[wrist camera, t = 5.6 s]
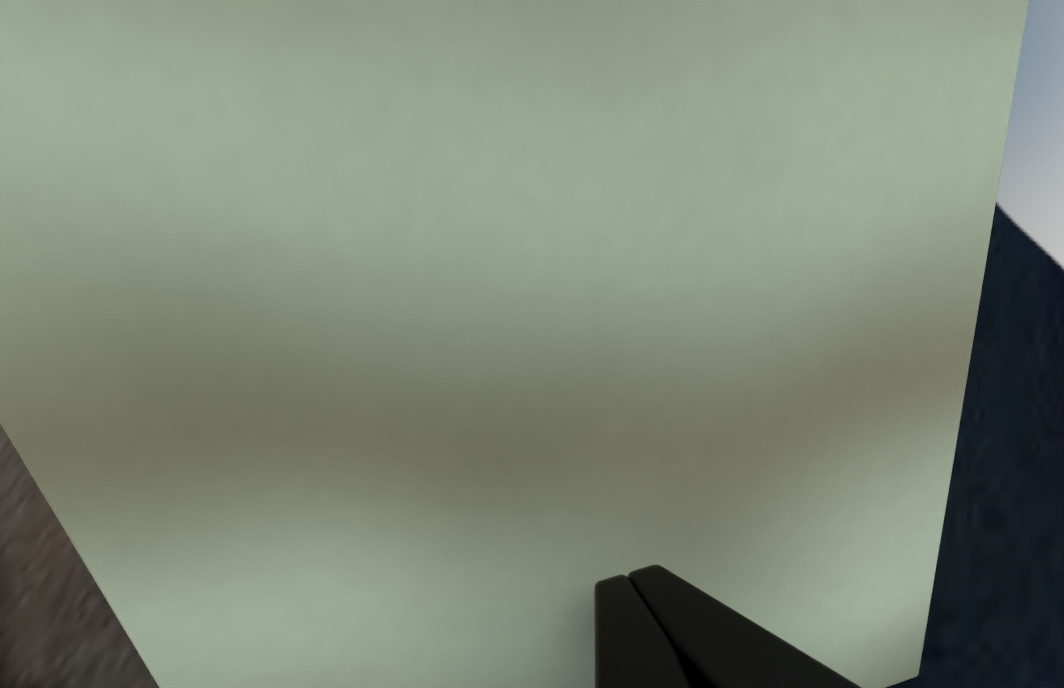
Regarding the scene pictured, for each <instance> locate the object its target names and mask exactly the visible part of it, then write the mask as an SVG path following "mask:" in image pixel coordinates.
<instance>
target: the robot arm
mask: <svg viewBox="0 0 1064 688" xmlns="http://www.w3.org/2000/svg"><path fill="white" fill-rule="evenodd" d="M594 627H595V688H862V687H860V686H859V685H857V684H855V683H854V682H852V681H850V680H849V679H847V678H845V677H844V676H842V675H840V674H839V673H837V672H835V671H834V670H832V669H831V668H829V667H827V666H826V665H824V664H822V663H821V662H819V661H817V660H816V659H814V658H812V657H811V656H809V655H807V654H806V653H804V652H803V651H801V650H799V649H798V648H796V647H794V646H793V645H791V644H789V643H788V642H786V641H784V640H783V639H781V638H779V637H778V636H776V635H774V634H773V633H771V632H770V631H768V630H766V629H765V628H763V627H761V626H760V625H758V624H756V623H755V622H753V621H751V620H750V619H748V618H746V617H745V616H743V615H741V614H740V613H738V612H737V611H735V610H733V609H732V608H730V607H728V606H727V605H725V604H723V603H722V602H720V601H718V600H717V599H715V598H713V597H712V596H710V595H709V594H707V593H705V592H704V591H702V590H700V589H699V588H697V587H695V586H694V585H692V584H690V583H689V582H687V581H685V580H684V579H682V578H680V577H679V576H677V575H676V574H674V573H672V572H671V571H669V570H667V569H666V568H664V567H662V566H660V565H650V566H647V567H644V568H640V569H637V570H634V571H631V572H630V573H629V574H628V575H627V576H625V575H622V574H621V575H617V576H614V577H610V578H607V579H604V580H600V581H598V582H597V583H596V584H595V588H594Z"/></svg>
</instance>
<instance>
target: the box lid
mask: <svg viewBox="0 0 1064 688" xmlns="http://www.w3.org/2000/svg"><path fill="white" fill-rule="evenodd" d="M1028 2H1029V0H0V424H1V426H2V427H3V429H4V431H5V432H6V434H7V436H8V437H9V439H10V440H11V442H12V444H13V445H14V447H15V449H16V450H17V452H18V454H19V455H20V457H21V459H22V460H23V462H24V464H25V465H26V467H27V469H28V470H29V472H30V474H31V475H32V477H33V479H34V480H35V482H36V484H37V485H38V487H39V489H40V490H41V492H42V494H43V495H44V497H45V499H46V500H47V502H48V504H49V505H50V507H51V509H52V510H53V512H54V514H55V515H56V517H57V518H58V520H59V522H60V523H61V525H62V527H63V528H64V530H65V532H66V533H67V535H68V537H69V538H70V540H71V542H72V543H73V545H74V547H75V548H76V550H77V552H78V553H79V555H80V557H81V558H82V560H83V562H84V563H85V565H86V567H87V568H88V570H89V572H90V573H91V575H92V577H93V578H94V580H95V582H96V583H97V585H98V587H99V588H100V590H101V592H102V593H103V595H104V597H105V598H106V600H107V601H108V603H109V605H110V606H111V608H112V610H113V611H114V613H115V615H116V616H117V618H118V620H119V621H120V623H121V625H122V626H123V628H124V630H125V631H126V633H127V635H128V636H129V638H130V640H131V641H132V643H133V645H134V646H135V648H136V650H137V651H138V653H139V655H140V656H141V658H142V660H143V661H144V663H145V665H146V666H147V668H148V670H149V671H150V673H151V675H152V676H153V678H154V680H155V681H156V683H157V684H158V686H159V688H595V627H594V588H595V584H596V583H597V582H598V581H600V580H604V579H607V578H610V577H614V576H617V575H621V574H622V575H625V576H627V575H628V574H629V573H630V572H631V571H634V570H637V569H640V568H644V567H647V566H650V565H660V566H662V567H664V568H666V569H667V570H669V571H671V572H672V573H674V574H676V575H677V576H679V577H680V578H682V579H684V580H685V581H687V582H689V583H690V584H692V585H694V586H695V587H697V588H699V589H700V590H702V591H704V592H705V593H707V594H709V595H710V596H712V597H713V598H715V599H717V600H718V601H720V602H722V603H723V604H725V605H727V606H728V607H730V608H732V609H733V610H735V611H737V612H738V613H740V614H741V615H743V616H745V617H746V618H748V619H750V620H751V621H753V622H755V623H756V624H758V625H760V626H761V627H763V628H765V629H766V630H768V631H770V632H771V633H773V634H774V635H776V636H778V637H779V638H781V639H783V640H784V641H786V642H788V643H789V644H791V645H793V646H794V647H796V648H798V649H799V650H801V651H803V652H804V653H806V654H807V655H809V656H811V657H812V658H814V659H816V660H817V661H819V662H821V663H822V664H824V665H826V666H827V667H829V668H831V669H832V670H834V671H835V672H837V673H839V674H840V675H842V676H844V677H845V678H847V679H849V680H850V681H852V682H854V683H855V684H857V685H859V686H860V687H862V688H885V687H888V686H891V685H894V684H897V683H900V682H902V681H905V680H908V679H911V678H914V677H916V676H918V674H919V668H920V662H921V656H922V649H923V643H924V637H925V631H926V625H927V619H928V613H929V607H930V601H931V595H932V588H933V582H934V576H935V570H936V564H937V558H938V552H939V546H940V540H941V533H942V527H943V521H944V515H945V509H946V503H947V497H948V491H949V485H950V478H951V472H952V466H953V460H954V454H955V448H956V442H957V436H958V430H959V424H960V417H961V411H962V405H963V399H964V393H965V387H966V381H967V375H968V369H969V362H970V356H971V350H972V344H973V338H974V332H975V326H976V320H977V314H978V307H979V301H980V295H981V289H982V283H983V277H984V271H985V265H986V259H987V253H988V246H989V240H990V234H991V228H992V222H993V216H994V210H995V204H996V198H997V191H998V185H999V179H1000V173H1001V167H1002V161H1003V154H1004V148H1005V142H1006V136H1007V130H1008V124H1009V118H1010V112H1011V106H1012V99H1013V94H1014V87H1015V82H1016V75H1017V69H1018V63H1019V57H1020V50H1021V45H1022V39H1023V32H1024V26H1025V20H1026V14H1027V8H1028Z"/></svg>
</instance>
